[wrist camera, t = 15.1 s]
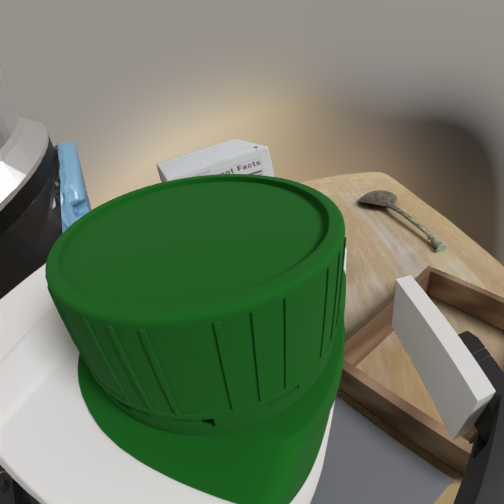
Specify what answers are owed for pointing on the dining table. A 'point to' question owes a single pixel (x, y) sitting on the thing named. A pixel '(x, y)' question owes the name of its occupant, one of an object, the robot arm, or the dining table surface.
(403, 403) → the walnut frame
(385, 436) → the rubber mat
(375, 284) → the dining table surface
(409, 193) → the dining table surface
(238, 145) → the supplement box
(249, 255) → the soya milk
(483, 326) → the dining table surface
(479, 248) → the dining table surface
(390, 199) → the soupspoon
